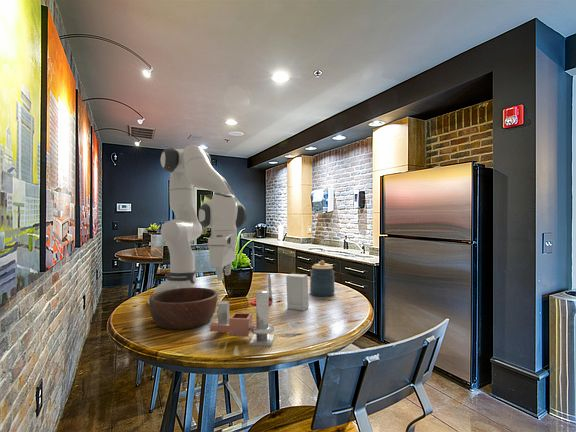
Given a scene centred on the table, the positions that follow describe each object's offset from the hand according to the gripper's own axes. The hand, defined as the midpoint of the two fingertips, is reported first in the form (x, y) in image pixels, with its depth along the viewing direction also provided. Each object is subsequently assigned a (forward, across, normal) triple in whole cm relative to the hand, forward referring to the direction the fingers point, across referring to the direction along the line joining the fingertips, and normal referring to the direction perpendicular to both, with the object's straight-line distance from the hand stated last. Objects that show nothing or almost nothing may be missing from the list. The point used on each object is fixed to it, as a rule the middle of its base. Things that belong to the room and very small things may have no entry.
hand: (224, 277), depth 110 cm
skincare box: (+19, -29, +25) cm, 43 cm away
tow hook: (+19, -36, +8) cm, 42 cm away
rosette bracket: (+19, +8, +8) cm, 22 cm away
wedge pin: (+19, 0, 0) cm, 19 cm away
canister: (+19, -56, +37) cm, 70 cm away
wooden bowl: (+19, -9, -18) cm, 28 cm away
